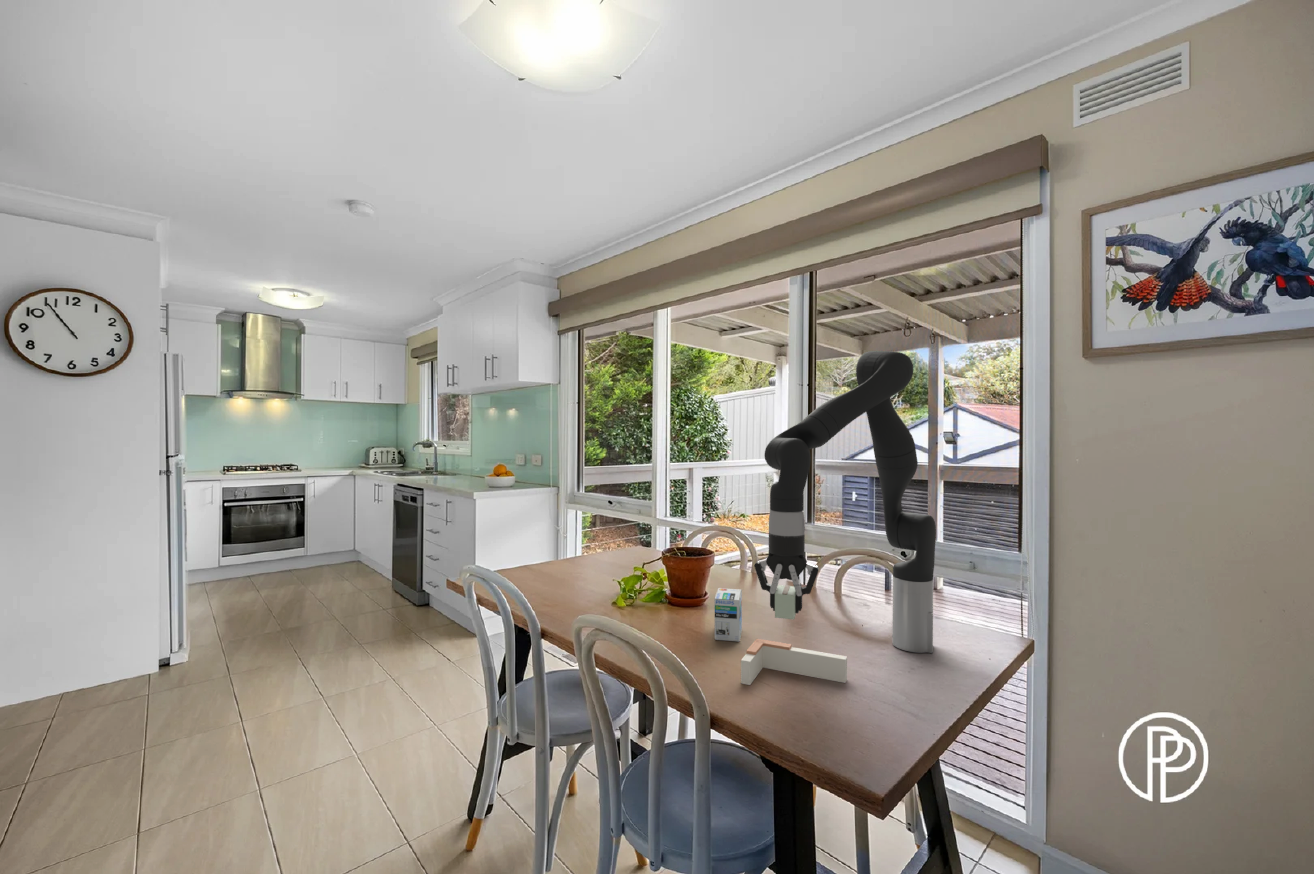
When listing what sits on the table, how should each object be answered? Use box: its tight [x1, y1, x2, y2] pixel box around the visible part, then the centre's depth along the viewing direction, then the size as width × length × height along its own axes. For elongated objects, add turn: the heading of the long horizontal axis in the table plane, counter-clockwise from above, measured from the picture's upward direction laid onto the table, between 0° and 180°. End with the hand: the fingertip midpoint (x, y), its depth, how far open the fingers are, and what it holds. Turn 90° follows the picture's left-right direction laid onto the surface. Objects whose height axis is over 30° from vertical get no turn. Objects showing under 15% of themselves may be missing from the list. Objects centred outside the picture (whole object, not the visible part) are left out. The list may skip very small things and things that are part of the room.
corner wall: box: [740, 638, 848, 686], centre depth 122 cm, size 20×12×6 cm, turn 64°
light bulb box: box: [713, 587, 743, 642], centre depth 151 cm, size 11×7×11 cm, turn 168°
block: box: [774, 584, 797, 620], centre depth 122 cm, size 7×4×5 cm, turn 162°
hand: (786, 610), depth 122 cm, fingers closed on block, 4 cm apart
